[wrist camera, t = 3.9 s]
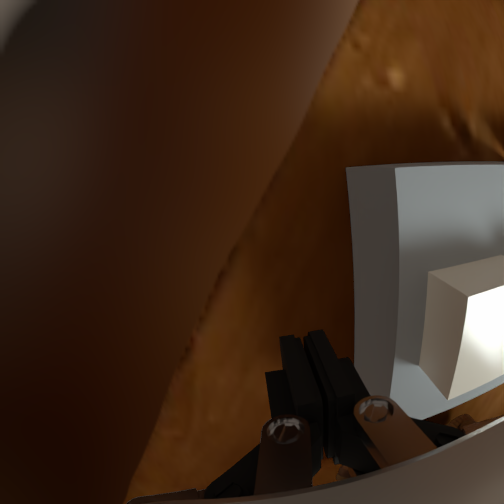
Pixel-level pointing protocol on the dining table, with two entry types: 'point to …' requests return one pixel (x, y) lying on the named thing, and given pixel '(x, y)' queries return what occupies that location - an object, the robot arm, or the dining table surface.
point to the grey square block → (415, 264)
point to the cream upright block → (464, 326)
